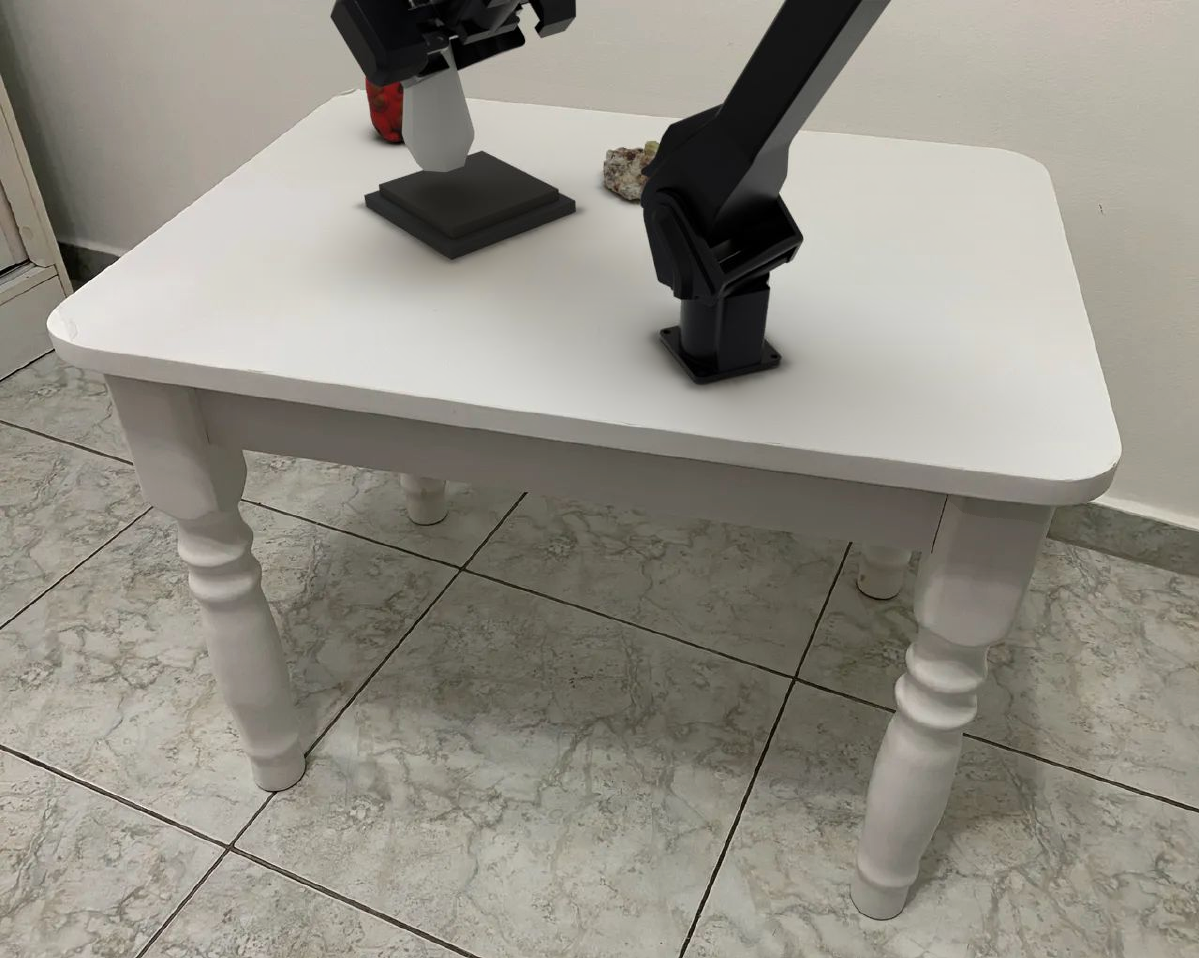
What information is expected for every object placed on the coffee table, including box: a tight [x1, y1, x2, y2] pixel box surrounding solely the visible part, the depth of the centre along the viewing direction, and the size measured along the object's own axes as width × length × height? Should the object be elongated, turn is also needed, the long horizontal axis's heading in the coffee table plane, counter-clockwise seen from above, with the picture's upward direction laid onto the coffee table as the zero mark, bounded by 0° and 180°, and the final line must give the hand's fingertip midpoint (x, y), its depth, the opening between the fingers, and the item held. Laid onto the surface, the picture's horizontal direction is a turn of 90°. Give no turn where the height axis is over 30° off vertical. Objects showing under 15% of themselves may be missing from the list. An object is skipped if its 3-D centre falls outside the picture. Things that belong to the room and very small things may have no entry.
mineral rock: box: [602, 140, 660, 201], centre depth 89 cm, size 11×4×8 cm
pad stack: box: [363, 150, 577, 260], centre depth 86 cm, size 13×13×2 cm
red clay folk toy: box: [364, 77, 404, 143], centre depth 95 cm, size 8×7×15 cm
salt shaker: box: [402, 39, 476, 172], centre depth 79 cm, size 6×6×13 cm
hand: (421, 77), depth 79 cm, fingers closed on salt shaker, 3 cm apart
